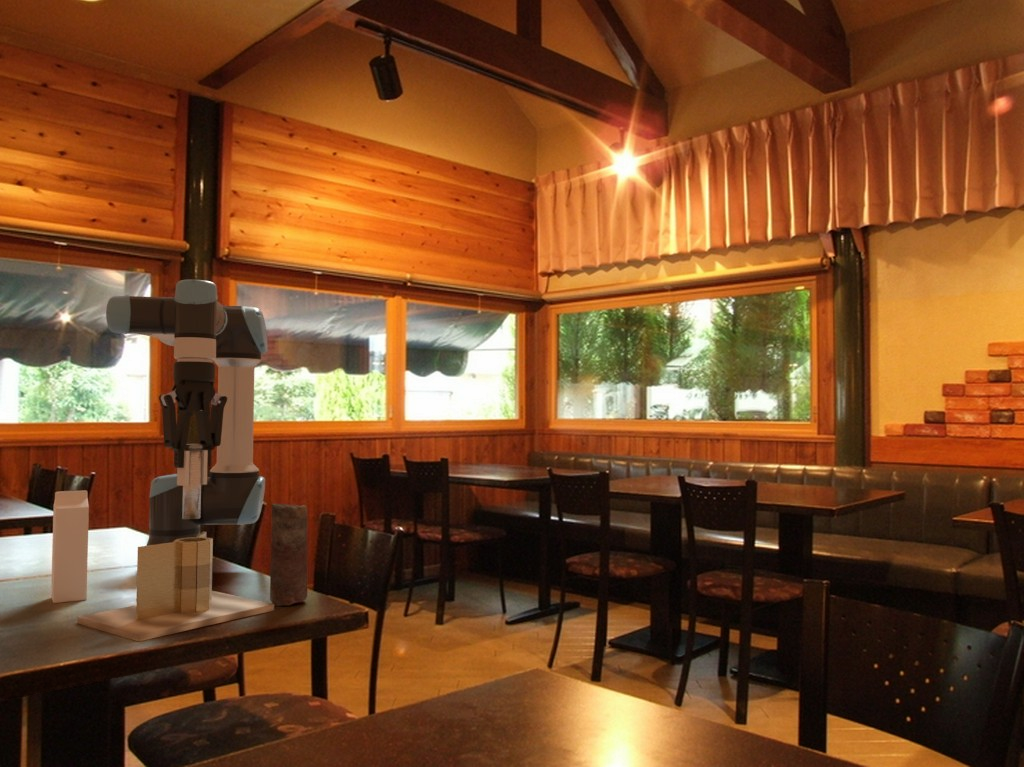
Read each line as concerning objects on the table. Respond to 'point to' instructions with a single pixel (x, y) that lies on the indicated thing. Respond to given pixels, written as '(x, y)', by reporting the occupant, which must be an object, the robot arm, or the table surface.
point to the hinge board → (173, 618)
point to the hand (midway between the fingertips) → (192, 484)
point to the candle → (288, 554)
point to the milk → (70, 546)
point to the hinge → (174, 577)
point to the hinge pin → (193, 483)
